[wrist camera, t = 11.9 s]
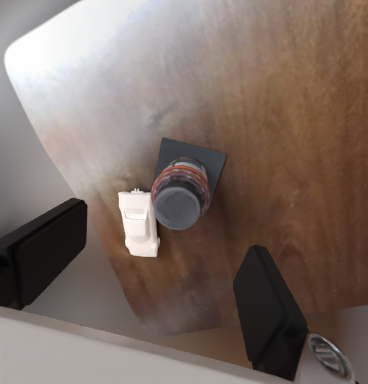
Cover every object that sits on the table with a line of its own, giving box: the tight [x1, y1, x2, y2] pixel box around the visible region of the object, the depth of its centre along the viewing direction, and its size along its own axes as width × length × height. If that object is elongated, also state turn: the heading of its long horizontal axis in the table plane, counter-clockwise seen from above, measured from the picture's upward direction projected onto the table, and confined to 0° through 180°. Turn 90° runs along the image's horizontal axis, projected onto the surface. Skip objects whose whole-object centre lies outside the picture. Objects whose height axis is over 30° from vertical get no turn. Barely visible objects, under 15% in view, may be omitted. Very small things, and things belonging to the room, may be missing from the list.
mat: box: [154, 138, 227, 212], centre depth 25 cm, size 9×9×1 cm
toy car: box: [118, 189, 160, 257], centre depth 27 cm, size 6×12×3 cm, turn 0°
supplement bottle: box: [151, 157, 210, 230], centre depth 20 cm, size 6×6×11 cm
